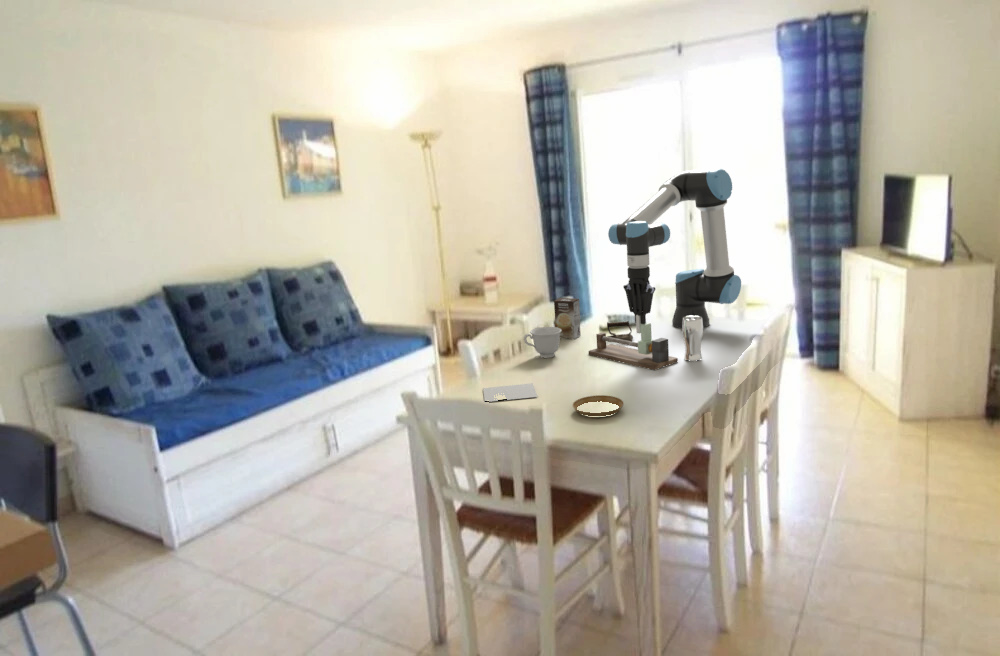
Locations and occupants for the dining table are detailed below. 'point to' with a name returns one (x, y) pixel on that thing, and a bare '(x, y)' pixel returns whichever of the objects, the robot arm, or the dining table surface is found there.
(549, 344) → the teacup
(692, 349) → the beer glass
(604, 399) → the plant saucer
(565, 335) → the coffee box
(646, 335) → the sleeve
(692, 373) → the dining table surface
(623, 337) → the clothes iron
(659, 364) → the rack
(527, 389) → the paper stack
